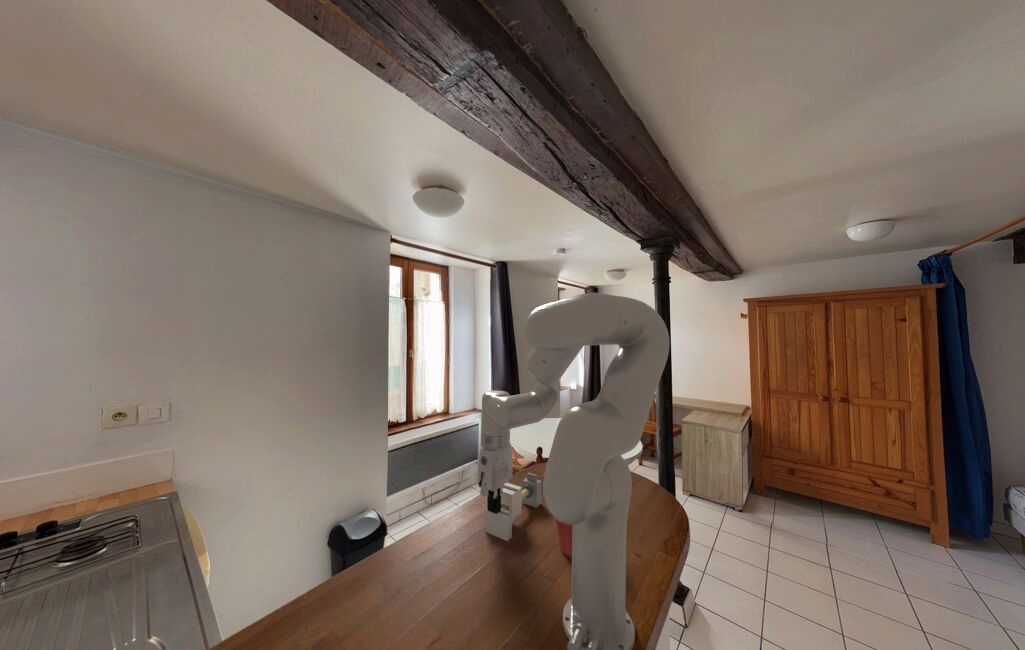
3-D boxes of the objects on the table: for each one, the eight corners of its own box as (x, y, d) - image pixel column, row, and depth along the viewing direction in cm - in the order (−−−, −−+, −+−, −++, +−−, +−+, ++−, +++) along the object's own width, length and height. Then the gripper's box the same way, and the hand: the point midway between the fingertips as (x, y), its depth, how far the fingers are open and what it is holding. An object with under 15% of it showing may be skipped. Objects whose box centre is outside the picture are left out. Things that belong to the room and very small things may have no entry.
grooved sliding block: (511, 523, 84) (512, 494, 84) (495, 517, 87) (496, 488, 87) (521, 514, 88) (521, 486, 89) (505, 509, 91) (506, 481, 91)
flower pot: (547, 554, 76) (547, 513, 76) (562, 530, 86) (562, 493, 86) (591, 570, 71) (591, 526, 71) (601, 542, 81) (602, 504, 81)
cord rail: (507, 541, 81) (508, 505, 81) (485, 531, 84) (486, 497, 85) (543, 504, 98) (544, 475, 99) (524, 498, 102) (524, 469, 102)
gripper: (490, 451, 74) (488, 531, 73) (522, 434, 87) (521, 502, 86) (465, 444, 78) (463, 520, 77) (499, 429, 91) (498, 494, 90)
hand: (494, 510), depth 82 cm, fingers closed
